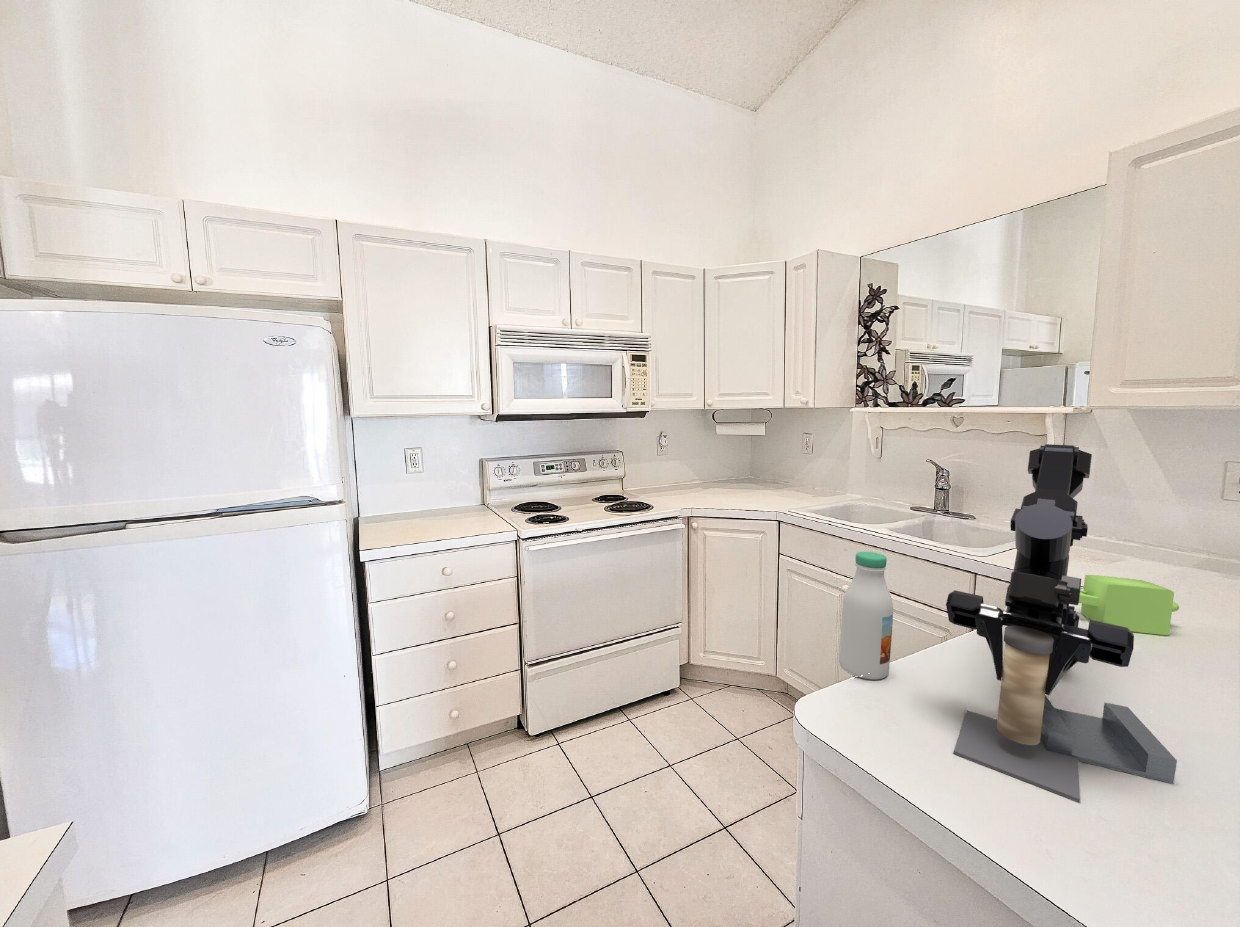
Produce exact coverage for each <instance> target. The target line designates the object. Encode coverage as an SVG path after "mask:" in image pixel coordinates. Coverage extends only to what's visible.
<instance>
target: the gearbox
mask: <svg viewBox="0 0 1240 927" xmlns="http://www.w3.org/2000/svg"><path fill="white" fill-rule="evenodd" d="M1084 575H1085V576H1084V581H1083V582H1084V583H1083V589H1080V597H1079V604H1081V610H1080V614H1082V615H1083V616H1085V617H1086V618H1088V619H1089V621H1090V620H1094V621H1099V622H1103V623H1108V624H1113V625H1117V626H1122V627H1126V628H1128V629H1129V630H1130V631H1131V632H1132V633H1142V634H1152V635H1162V636H1168V635H1169V634H1170V628H1171V622H1172V621H1171V620H1172V615H1173V614H1172V613H1173V612H1177V611H1178V610H1180V606H1179V604H1178V603H1177V602H1176V601H1174V595H1175V592H1174V591H1173V590H1171V589H1169V588H1167V587H1164V586H1161V585H1159V584H1155V583H1152V582H1149V581H1146V580H1143V579H1135V578H1126V577H1117V576H1108V575H1098V574H1097V575H1096V574H1084Z"/></svg>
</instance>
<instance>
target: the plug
mask: <svg viewBox="0 0 1240 927" xmlns="http://www.w3.org/2000/svg"><path fill="white" fill-rule="evenodd" d="M1053 641H1054V639H1053V638H1052V637H1051V636H1050V635H1048V634H1046V633H1044V632H1042V631H1039V630H1036V629H1032V628H1028V627H1023V626H1004V632H1003V643H1004V650H1003V671H1002V678H1001V681H1000V691H999V700H998V711H997V719H996V720H997V730H998V731H999V732H1000V733H1001V734H1002V735H1003V736H1005V737H1006V738H1008V739H1010V740H1012V741H1015V742H1018V743H1021V744H1025V745H1037V744H1039V743H1040V736H1041V728H1042V719H1043V710H1044V701H1045V695H1046V694H1045V688H1046V680H1047V676H1048V666H1049V657H1050V653H1052V650H1053Z"/></svg>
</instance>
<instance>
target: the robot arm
mask: <svg viewBox="0 0 1240 927" xmlns="http://www.w3.org/2000/svg"><path fill="white" fill-rule="evenodd" d="M1092 456H1093V454H1092V453H1089V452H1086V451H1083V450H1080V447H1079V446H1075V445H1073V444H1050V443H1049V444H1047V443H1046V444H1044V445H1043V444H1042V445H1040V446H1039V448H1036V449H1033V450H1030V451H1029V457H1028V463H1027V473H1028V474H1029V475H1031V480H1032V481H1031V482H1032V486H1033V489H1034V491H1033V492H1031V493H1029V494H1027V495H1025V496H1023V498H1022V502H1021V505H1020V508H1015V509H1014V511H1013V514H1012V516H1011V518H1010V531H1011V532H1014V533H1015V536H1014V537H1015V538H1014V541H1015V549H1016V555H1015V559H1014V565H1013V571H1011V574H1010V580H1009V581H1010V582H1009V584H1008V586H1007V589H1006V594H1005V600H1004V605H1005V606H1006V608H1005V610H1002V609H1001V608H999V607H997V606H995V605H994V606H993V605H989V604H985V603H984V596H982V595H978V594H974V593H969V592H965V591H961V590H953V591H951V592H949V593H948V595H947V599H946V603H945V606H946V612H947V617H948V622H949V623H951V624H952V625H955V626H960V627H962V628H963V627H964V628H968V629H972V630H976V635H978V636H979V637H982V638H985V640H986V643H987V645H988V648H989V651H990V653H991V657H992V661H993V665H994V671H995V676H996V680H998V681H1000V682H1001V680H1002V671H1003V660H1004V632H1003V626H1004V627H1007V626H1023V627H1028V628H1032V629H1036V630H1039V631H1042V632H1044V633H1046V634H1048V635H1050V636H1051V637H1052V638H1053V639H1054V641H1053V650H1052V653H1050V657H1049V666H1048V675H1047V680H1046V688H1045V695H1046V696H1050V695H1051V694H1052V692H1053V690H1054V689H1055V687H1056V686H1057V684H1058V683H1059V682H1060V680H1061V679H1062V678H1063V677H1064V675H1065V674H1066V673H1067V672H1068V671H1070V669H1071V668H1072V667H1073V666H1074V665H1076V664H1077V663H1081V664H1082V663H1083V664H1088V663H1089V662H1090V661H1089V660H1090V658H1091V659H1092V660H1093V661H1096V662H1101V663H1105V664H1109V665H1112V666H1116V667H1120V668H1124V667H1125V668H1126V667H1129V665H1130V661H1131V658H1132V654H1133V651H1134V645H1135V644H1134V643H1135V635H1134V634H1135V633H1134V632H1133V631H1130V630H1129V629H1128V628H1126V627H1122V626H1117V625H1113V624H1108V623H1103V622H1099V621H1094V620H1090V619H1089V621H1088V627H1087V628H1088V629H1086V628H1082V627H1079V622H1080V616H1079V615H1078V613H1077V612H1076V610H1075V609H1076V608H1075V606H1079V605H1080V603H1079V597H1080V590H1081V587H1082V586H1081V585H1082V578H1080V577H1075V576H1074V577H1073V576H1069V575H1068V569H1069V562H1070V550H1071V547H1072V546H1074V545H1073V544H1074V540H1075V541H1081V539H1083V537H1085V538H1087V536H1088V528H1089V526H1088V524H1087V523H1086V522H1085V519H1084V518H1083V515H1077V510H1078V504H1079V502H1078V500H1076V499H1075V497H1076V496H1077V495H1079V493H1081V492H1082V491H1083V488H1084V487H1083V486H1084V485H1083V484H1084V479H1090V476H1091V475H1090V474H1091V465H1092Z"/></svg>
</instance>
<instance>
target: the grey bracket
mask: <svg viewBox="0 0 1240 927" xmlns="http://www.w3.org/2000/svg"><path fill="white" fill-rule="evenodd" d="M1047 696H1048V695H1046V694H1045V701H1044V710H1043V719H1042V728H1041V736H1040V740H1041V741H1042V743H1043V745H1044V747H1045V748H1046V750H1047V751H1051V752H1055V753H1059V754H1063V755H1068V756H1072V757H1076V758H1078V762H1081V763H1085V764H1089V765H1093V766H1098V767H1101V768H1106V769H1111V770H1113V771H1118V772H1121V773H1127V774H1130V775H1136V776H1139V777H1144V778H1147V779H1151V780H1156V781H1160V782H1164V783H1168V784H1172V785H1174V784H1175V777H1176V771H1177V770H1176V769H1177V763H1178V760H1177V759H1176V758H1175V756H1174V755H1173V754H1172V753H1171V752H1170V751H1169V750H1168V749H1167V747H1165V746H1164V744H1162V743H1161V741H1160V740H1159V739H1158V738H1157V737H1156V736H1155V735H1154V733H1153V732H1151V731H1150V730H1149V728H1148V727H1147V726H1146V725H1145V724H1144V723H1143V722H1142V721H1141V720H1140V719H1139V717H1138V716H1137V715H1136V714H1135V713H1134V712H1133V711H1132V709H1130V707H1129V706H1126V705H1125V706H1124V705H1119V704H1114V703H1109V702H1104V704H1103V709H1102V710H1103V712H1102V717H1098V716H1094V715H1089V714H1088V715H1087V714H1083V713H1078V712H1073V711H1069V710H1065V709H1060V708H1055V707H1054V705H1053V704H1052V702H1051V701H1050V700H1049V698H1048V697H1047Z"/></svg>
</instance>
